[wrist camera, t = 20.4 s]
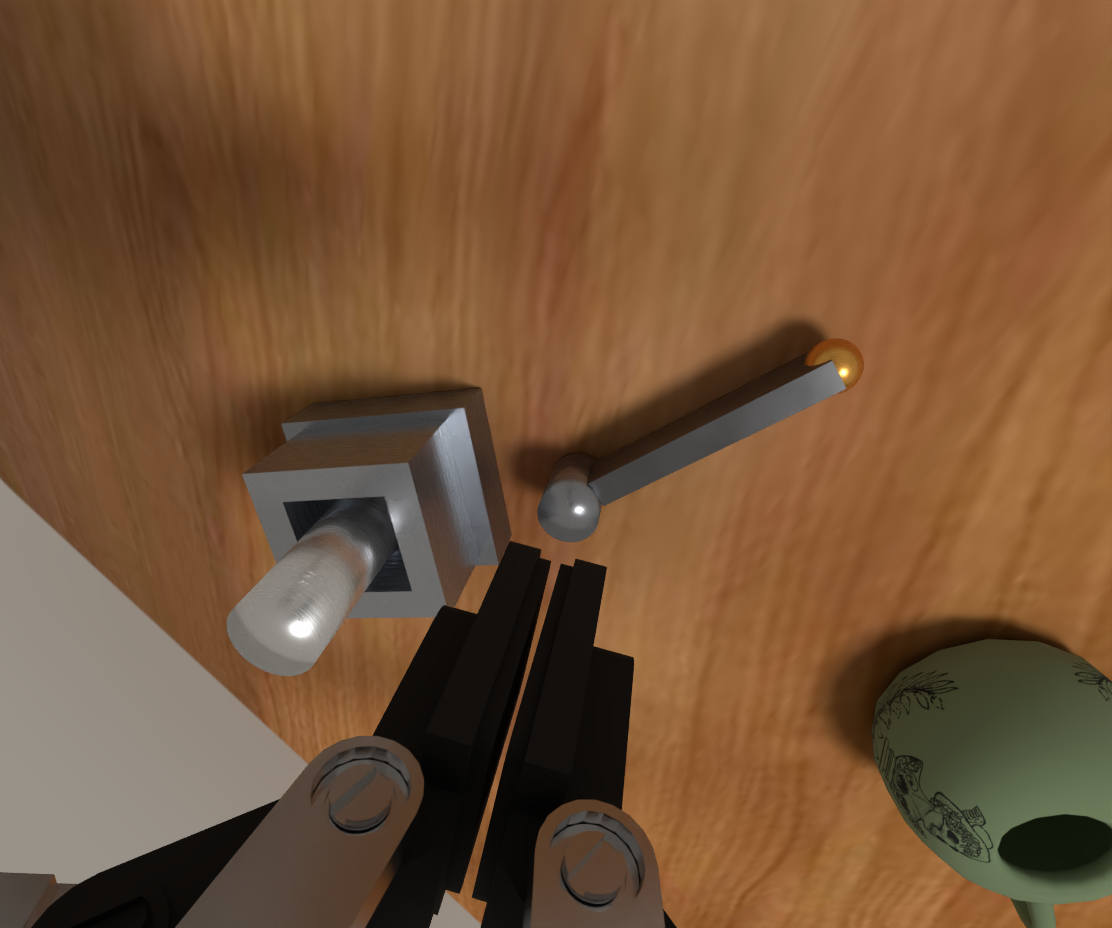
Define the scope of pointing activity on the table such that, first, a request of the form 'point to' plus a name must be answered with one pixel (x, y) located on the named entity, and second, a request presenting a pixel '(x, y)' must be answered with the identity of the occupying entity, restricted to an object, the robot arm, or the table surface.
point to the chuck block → (393, 490)
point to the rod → (313, 587)
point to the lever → (693, 437)
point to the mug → (1005, 769)
